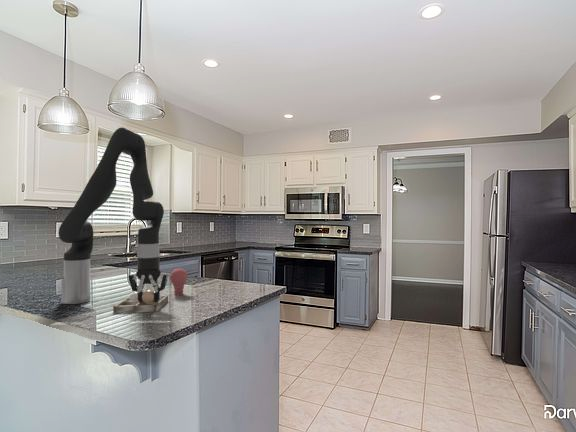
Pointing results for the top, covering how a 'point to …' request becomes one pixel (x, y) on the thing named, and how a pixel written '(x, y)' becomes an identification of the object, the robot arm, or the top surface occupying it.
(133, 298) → the white egg back left
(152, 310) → the divided tray
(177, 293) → the light bulb
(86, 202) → the robot arm
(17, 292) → the top surface
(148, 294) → the beige ball
